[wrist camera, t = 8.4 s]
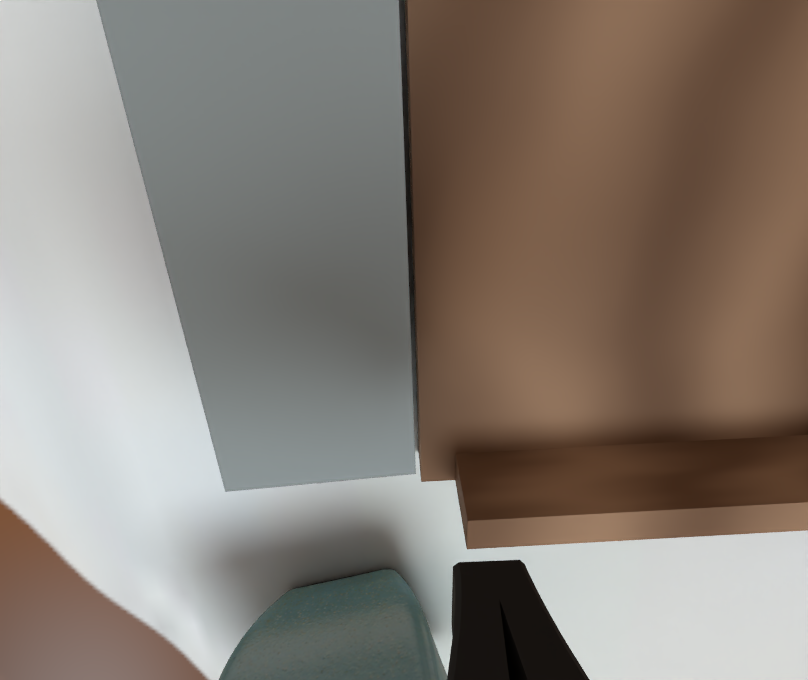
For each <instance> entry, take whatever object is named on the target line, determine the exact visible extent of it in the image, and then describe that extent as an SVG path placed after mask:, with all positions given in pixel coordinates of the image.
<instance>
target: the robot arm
mask: <svg viewBox="0 0 808 680" xmlns="http://www.w3.org/2000/svg"><path fill="white" fill-rule="evenodd" d="M452 635H453V639H452V647H451V654H450V662H449V670H448V676H447V680H589V678H588V677H587V675H586V674H585V672H584V670H583V669H582V667H581V666H580V664H579V662H578V661H577V659H576V658H575V656H574V654H573V653H572V651H571V650H570V648H569V646H568V645H567V643H566V641H565V640H564V638H563V636H562V635H561V633H560V631H559V630H558V628H557V626H556V624H555V622H554V621H553V619H552V617H551V615H550V614H549V612H548V610H547V608H546V606H545V605H544V603H543V601H542V599H541V597H540V595H539V593H538V591H537V589H536V587H535V585H534V583H533V581H532V579H531V577H530V575H529V573H528V571H527V569H526V566H525V564H524V563H523V562H521V561H520V560H507V561H482V562H459V563H457V564H456V565H455V566H453V590H452Z"/></svg>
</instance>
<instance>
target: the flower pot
mask: <svg viewBox="0 0 808 680" xmlns="http://www.w3.org/2000/svg"><path fill="white" fill-rule="evenodd" d="M219 680H447V674H446V672H445V669H444V666H443V664H442V661H441V659H440V656H439V654H438V651H437V648H436V645H435V643H434V640H433V637H432V635H431V632H430V629H429V626H428V624H427V621H426V618H425V616H424V613H423V611H422V608H421V606H420V604H419V602H418V600H417V598H416V596H415V595H414V593H413V591H412V590H411V588H410V587H409V586H408V584H407V583H406V582H405V581H404V579H403V578H402V577H401V576H400V575H399V574H398V573H397V572H396V571H395V570H391V569H383V570H379V571H375V572H371V573H366V574H361V575H357V576H353V577H348V578H344V579H339V580H334V581H330V582H325V583H320V584H316V585H311V586H306V587H301V588H296V589H292V590H290V591H288V592H287V593H285V594H284V595H283V596H282V597H281V598H280V599H278V600H277V601H276V602H275V603H274V604H273V605H272V606H271V607H270V608H268V609H267V610H266V611H265V612H264V613H263V614H262V615H261V616H260V617H259V619H258V620H257V621H256V622H255V623H254V624H253V625H252V627H251V628H250V629H249V630H248V632H247V633H246V634H245V635H244V637H243V638H242V639H241V641H240V642H239V644H238V645H237V647H236V648H235V650H234V651H233V653H232V655H231V657H230V658H229V660H228V662H227V664H226V666H225V668H224V669H223V672H222V674H221V676H220V678H219Z"/></svg>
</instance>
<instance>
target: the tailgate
mask: <svg viewBox="0 0 808 680" xmlns="http://www.w3.org/2000/svg"><path fill="white" fill-rule="evenodd" d="M96 1H97V5H98V9H99V12H100V16H101V20H102V24H103V28H104V31H105V35H106V39H107V43H108V47H109V50H110V54H111V58H112V62H113V66H114V69H115V73H116V77H117V81H118V85H119V89H120V92H121V96H122V100H123V104H124V108H125V111H126V115H127V119H128V123H129V127H130V130H131V134H132V138H133V142H134V146H135V149H136V153H137V157H138V161H139V165H140V168H141V172H142V176H143V180H144V184H145V187H146V191H147V195H148V199H149V203H150V206H151V210H152V214H153V218H154V222H155V226H156V229H157V233H158V237H159V241H160V245H161V248H162V252H163V256H164V260H165V264H166V267H167V271H168V275H169V279H170V283H171V286H172V290H173V294H174V298H175V302H176V305H177V309H178V313H179V317H180V321H181V324H182V328H183V332H184V336H185V340H186V344H187V347H188V351H189V355H190V359H191V363H192V366H193V370H194V374H195V378H196V382H197V385H198V389H199V393H200V397H201V401H202V404H203V408H204V412H205V416H206V420H207V423H208V427H209V431H210V435H211V439H212V442H213V446H214V450H215V454H216V458H217V461H218V465H219V469H220V473H221V477H222V481H223V484H224V488H225V492H228V491H238V490H249V489H259V488H270V487H281V486H291V485H302V484H313V483H323V482H334V481H344V480H355V479H366V478H376V477H387V476H397V475H408V474H416V469H415V441H414V413H413V384H412V356H411V328H410V300H409V272H408V244H407V216H406V188H405V160H404V132H403V104H402V76H401V48H400V19H399V0H96Z"/></svg>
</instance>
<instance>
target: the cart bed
mask: <svg viewBox="0 0 808 680" xmlns="http://www.w3.org/2000/svg"><path fill="white" fill-rule="evenodd" d="M405 24H406V56H407V88H408V120H409V152H410V184H411V217H412V249H413V281H414V313H415V345H416V377H417V409H418V441H419V460H420V471H421V482H425V481H444V480H455V481H456V487H457V493H458V499H459V505H460V511H461V517H462V523H463V529H464V534H465V540H466V546H467V549H478V548H496V547H514V546H532V545H551V544H569V543H587V542H605V541H623V540H641V539H659V538H677V537H695V536H713V535H731V534H749V533H767V532H785V531H803V530H808V0H405Z"/></svg>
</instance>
